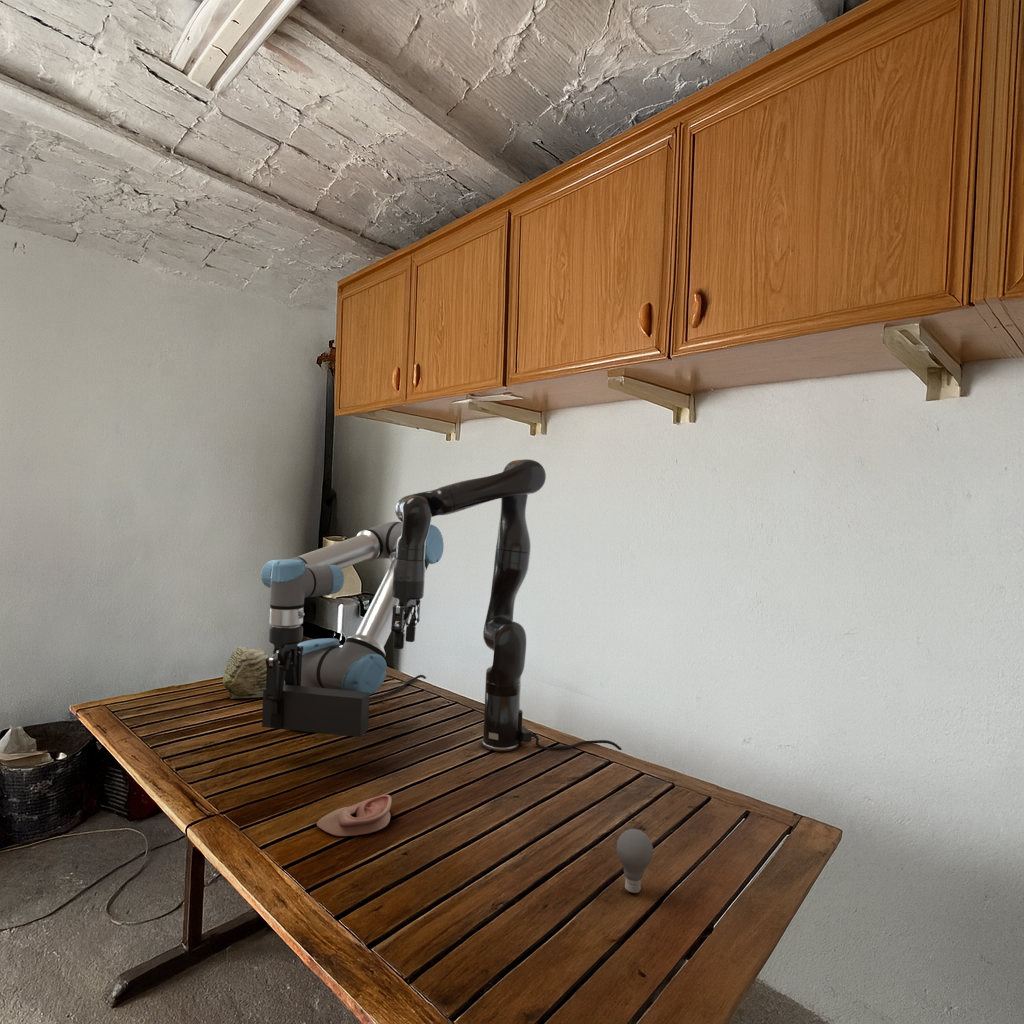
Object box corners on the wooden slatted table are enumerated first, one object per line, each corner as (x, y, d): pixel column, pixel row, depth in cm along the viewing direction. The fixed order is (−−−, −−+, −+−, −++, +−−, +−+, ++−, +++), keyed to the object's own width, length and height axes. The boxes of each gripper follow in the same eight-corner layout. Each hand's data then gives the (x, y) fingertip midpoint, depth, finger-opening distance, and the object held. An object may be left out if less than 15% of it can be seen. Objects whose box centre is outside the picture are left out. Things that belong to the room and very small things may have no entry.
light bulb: (610, 879, 108) (613, 822, 108) (644, 879, 109) (647, 822, 109) (619, 902, 102) (622, 840, 102) (655, 901, 103) (658, 840, 103)
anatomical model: (309, 810, 119) (337, 784, 131) (308, 831, 119) (337, 803, 131) (375, 821, 117) (398, 793, 128) (374, 842, 117) (397, 812, 128)
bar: (261, 727, 148) (263, 689, 148) (272, 720, 153) (273, 683, 153) (360, 737, 145) (361, 698, 144) (368, 730, 149) (369, 692, 149)
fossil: (218, 695, 195) (220, 647, 195) (278, 685, 208) (279, 640, 207) (228, 703, 189) (230, 653, 188) (289, 692, 201) (290, 645, 201)
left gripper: (281, 634, 140) (278, 738, 141) (318, 619, 158) (314, 712, 158) (250, 631, 141) (246, 735, 142) (290, 617, 159) (286, 709, 159)
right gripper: (414, 582, 145) (410, 653, 145) (432, 576, 159) (427, 640, 159) (383, 579, 146) (379, 649, 146) (403, 574, 160) (399, 637, 161)
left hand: (282, 723), depth 150 cm, fingers closed on bar, 5 cm apart
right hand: (404, 645), depth 153 cm, fingers open, 8 cm apart
